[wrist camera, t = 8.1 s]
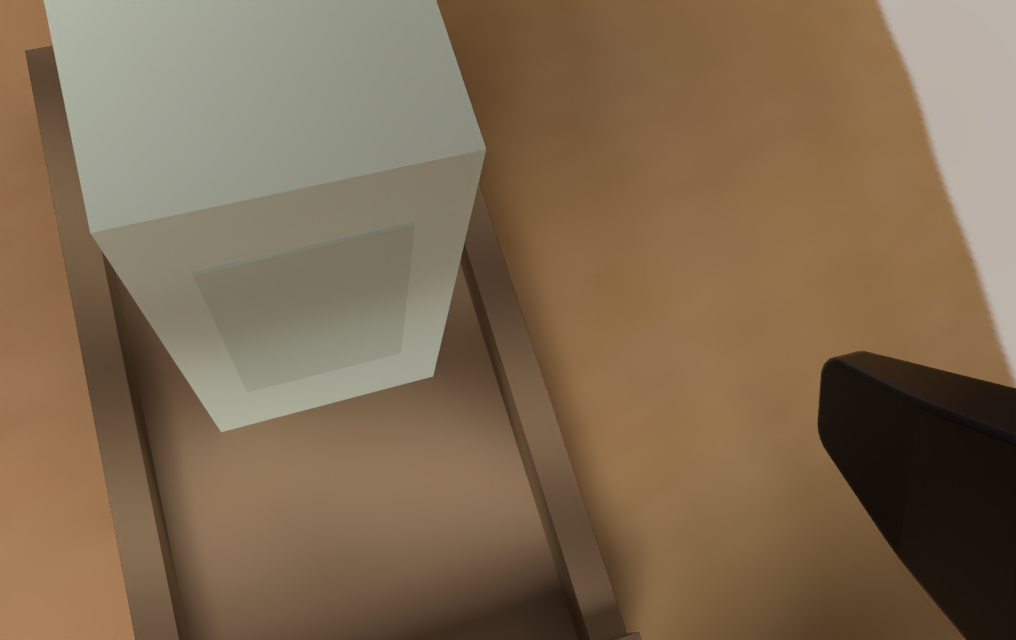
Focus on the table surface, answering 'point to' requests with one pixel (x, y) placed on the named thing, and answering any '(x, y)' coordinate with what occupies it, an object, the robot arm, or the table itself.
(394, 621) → the wooden tray
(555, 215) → the table surface
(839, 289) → the table surface
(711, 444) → the table surface
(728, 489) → the table surface
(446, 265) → the pale green recessed block
